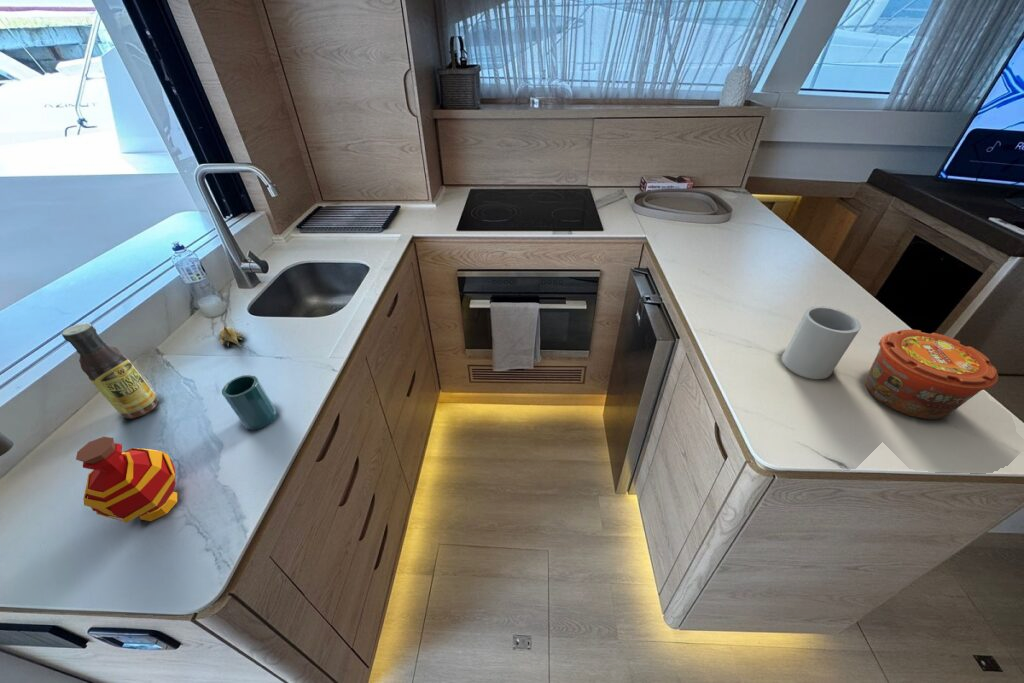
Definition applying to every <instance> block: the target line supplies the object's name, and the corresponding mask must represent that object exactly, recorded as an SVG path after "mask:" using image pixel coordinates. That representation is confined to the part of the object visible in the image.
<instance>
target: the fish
mask: <svg viewBox="0 0 1024 683" xmlns="http://www.w3.org/2000/svg"><path fill="white" fill-rule="evenodd" d="M240 336H244V334H243V333H241V332H239V331H236V330H235V329H234V328H232V327H230V326H229V327H228V326H226V325H223V328H221V329H220V330H219V337H220V339H219V342H220V344H221V345H224V343H225V344H226V346H227V347H230V343H233V344H236V346H238V347H239V348H242V347H243V346H242V345H241V344H240V343H239V341H244V339H242V338H241V337H240ZM238 340H239V341H238Z"/></svg>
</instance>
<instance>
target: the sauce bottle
mask: <svg viewBox="0 0 1024 683" xmlns="http://www.w3.org/2000/svg"><path fill="white" fill-rule="evenodd" d="M61 336H62V338H63V339H64V340H65V341H66V342H68V343H70V344H71V346H72V347H73V348H74V349H75V351H76V353H77V354H78V355H79V359H78V362H79V365H80V368H81V370H82V372H83V373H85V374H86V376H87V378H88V379H89V381H90V382H91V383H92V384H93V386H95V388H97V390H98V391H99V392H100V393H101V394H102V396H103V397H104V398H105V399H106V401H108V402H109V404H110V405H111V407H113V408H114V409H115V410H116V412H117V413H119V414H120V415H121V416H122V417H124V418H126V419H128V420H129V419H136V418H140V417H142V416H145V415H146V414H149V413H150V412H152V411H153V410H154V409H155V408H156V406H157V405H158V404H159V400H158V397H157V396H156V393H155V392H154V391H153V389H152V388H151V387H150V385H149V384H148V383H147V382H146V380H145V379H144V377H143V376H142V375H141V374H140V372H139V371H138V370H137V368H136V367H135V366H134V365H133V363H132V362H131V361H130V360H129V359H128V357H126V356H125V354H124V353H123V352H122V351H121V350H120V349H119V348H117V347H116V346H113V345H111V344H107V343H106V342H105V340H104V339H102V337H101V336H100V335H99V333H98V332H97V329H96V328H95V326H93V324H92V323H90V322H82V323H78V324H74V325H72V326H69V327H67V328H66V329H64V330H63V331H62V332H61Z"/></svg>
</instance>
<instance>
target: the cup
mask: <svg viewBox="0 0 1024 683" xmlns="http://www.w3.org/2000/svg"><path fill="white" fill-rule="evenodd" d="M861 328H862V324H861V323H860V321H859V319H857V318H856V317H855V316H854V315H852V314H850V313H849V312H846V311H844V310H841V309H838V308H834V307H830V306H824V305H816V306H810V307H808V308H806V310H805V311H804V313H803V314H802V317H801V319H800V321H799V322H798V325H797V327H796V329H795V331H794V332H793V334H792V336H791V338H790V340H789V342H788V343H787V346H786V348H785V350H784V351H783V353H782V356H781V362H782V364H783V365H784V366H785V367H786V368H787V369H788V370H790V371H791V372H792V373H794V374H796V375H798V376H801V377H803V378H807V379H810V380H811V379H812V380H824V379H828V378H829V377H831V375H832V373H833V372H834V370H835V369H836V367H837V365H838V364H839V363H840V362H841V360H842V358H843V356H844V355H845V353H846V352H847V350H848V348H849V347H850V345H852V343H853V341H854V340H855V337H856V336H857V335H858V334H859V332H860V330H861Z"/></svg>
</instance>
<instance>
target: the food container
mask: <svg viewBox="0 0 1024 683" xmlns="http://www.w3.org/2000/svg"><path fill="white" fill-rule="evenodd" d="M878 345H879V349H878V352H877V354H876V356H875V358H874V360H873V362H872V364H871V367H870V369H869V370H868V373H867V375H866V377H865V379H864V385H865V388H866V390H867V391H868V393H869V394H870V396H871V397H873V398H874V399H875V400H876V401H878V402H879V403H881V404H883V405H884V406H886V407H887V408H889V409H891V410H893V411H895V412H897V413H900V414H903V415H906V416H909V417H912V418H916V419H920V420H941V419H944V418H947V417H948V416H949V415H951V413H953V412H954V411H956V410H957V409H959V408H960V407H962V405H964V404H966V403H967V401H969V400H971V399H972V398H974V397H975V396H976V395H978V394H979V393H980V392H981V391H984V390H988V389H991V388H993V387H994V386H995V385H997V383H998V380H999V374H998V370H997V369H996V367H995V366H994V365H993V364H992V363H991V362H990V361H991V359H989V358H988V357H987V356H986V355H985V354H984V353H982V352H981V351H979V350H978V349H976V348H974V347H973V346H965V345H964V344H961V341H960V340H958V339H955V338H953V337H950V336H947V335H944V334H940V333H936V332H932V333H927V332H922V330H920V329H900V330H898V331H891V332H889V333H886V334H884V335H883V336H882V337H881V339H880V340H879V342H878Z"/></svg>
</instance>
